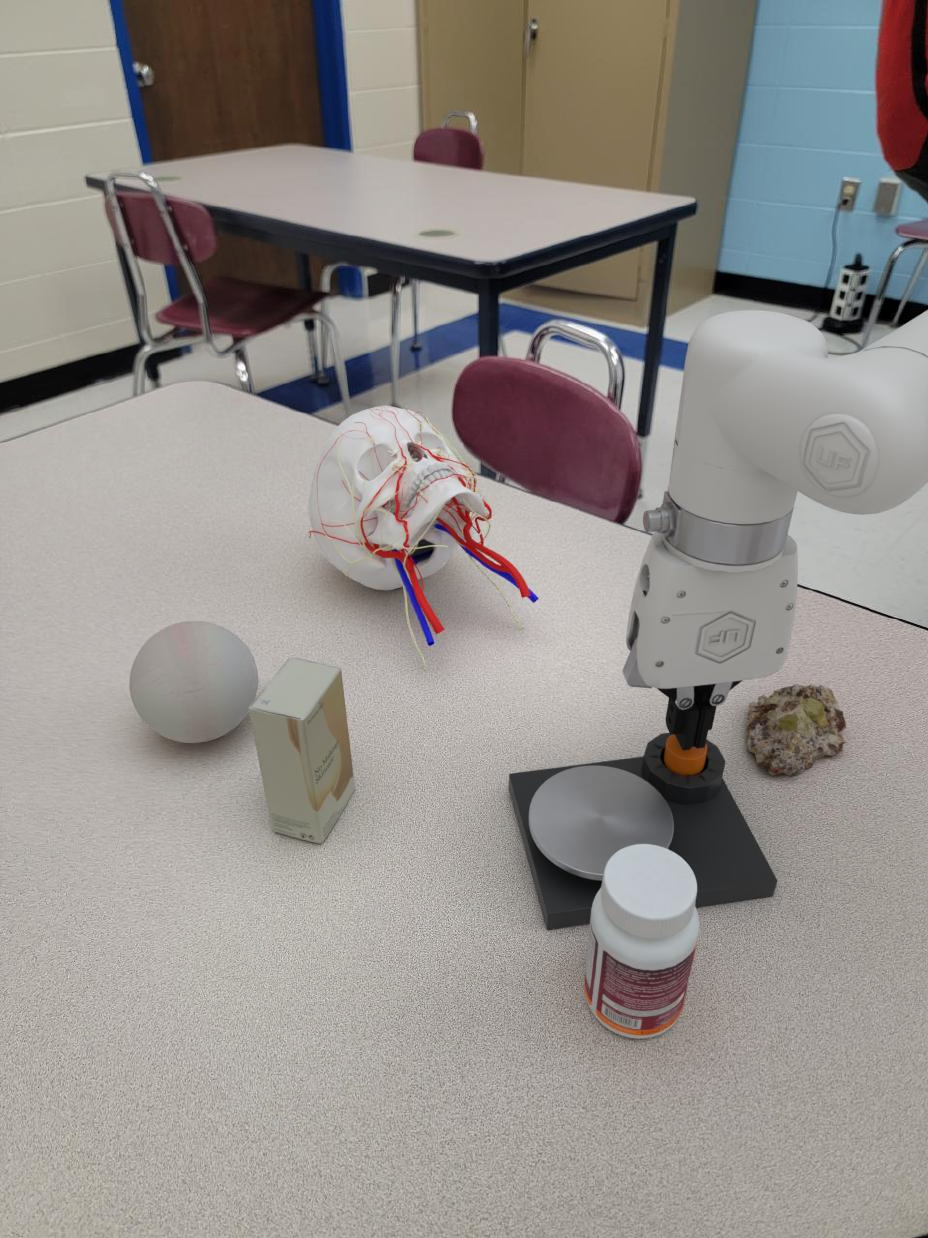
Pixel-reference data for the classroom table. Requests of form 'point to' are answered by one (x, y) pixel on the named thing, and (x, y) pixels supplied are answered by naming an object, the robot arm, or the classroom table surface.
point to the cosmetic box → (303, 748)
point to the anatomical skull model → (399, 508)
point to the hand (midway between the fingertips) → (686, 735)
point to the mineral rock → (795, 728)
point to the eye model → (193, 681)
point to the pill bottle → (641, 941)
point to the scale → (701, 837)
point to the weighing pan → (596, 817)
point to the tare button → (684, 758)
